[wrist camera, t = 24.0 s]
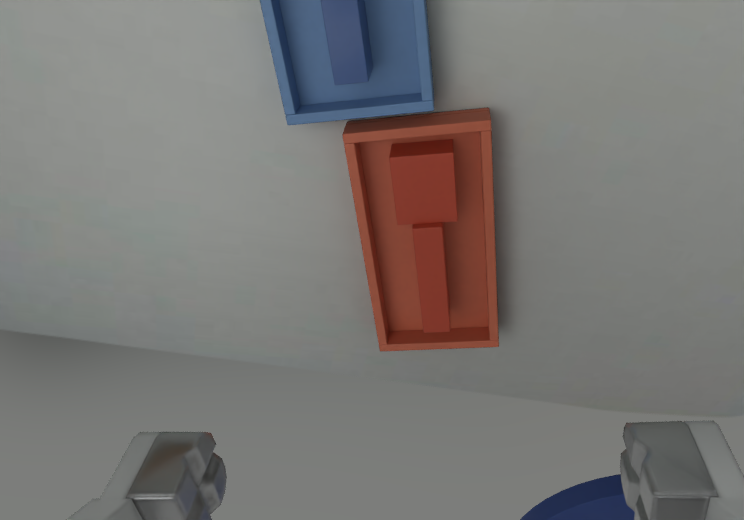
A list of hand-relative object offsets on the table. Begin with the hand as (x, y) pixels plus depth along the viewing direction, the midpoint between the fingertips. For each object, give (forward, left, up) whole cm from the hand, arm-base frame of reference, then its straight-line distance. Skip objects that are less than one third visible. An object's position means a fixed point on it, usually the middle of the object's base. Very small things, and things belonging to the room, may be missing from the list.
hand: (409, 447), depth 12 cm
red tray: (-11, +1, -26) cm, 28 cm away
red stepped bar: (-10, +1, -26) cm, 28 cm away
